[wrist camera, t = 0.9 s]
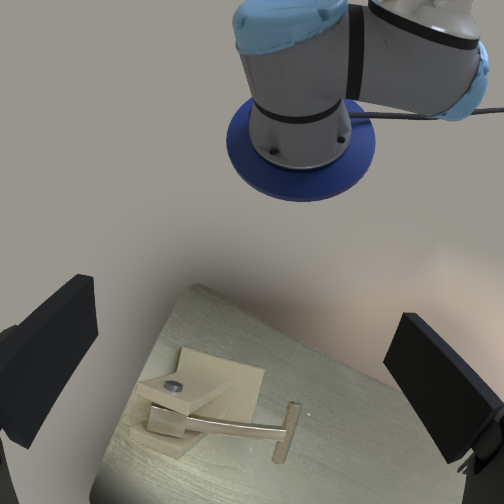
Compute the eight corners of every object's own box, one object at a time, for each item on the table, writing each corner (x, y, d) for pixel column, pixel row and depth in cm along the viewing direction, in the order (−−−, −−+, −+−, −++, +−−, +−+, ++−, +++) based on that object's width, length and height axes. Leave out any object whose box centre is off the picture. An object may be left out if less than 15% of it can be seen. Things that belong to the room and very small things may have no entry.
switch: (296, 399, 23) (307, 408, 21) (279, 455, 22) (288, 467, 19) (157, 374, 21) (155, 382, 18) (146, 436, 19) (143, 449, 17)
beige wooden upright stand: (265, 368, 31) (234, 396, 17) (249, 429, 29) (210, 488, 15) (185, 346, 33) (111, 350, 19) (173, 404, 32) (99, 436, 18)
